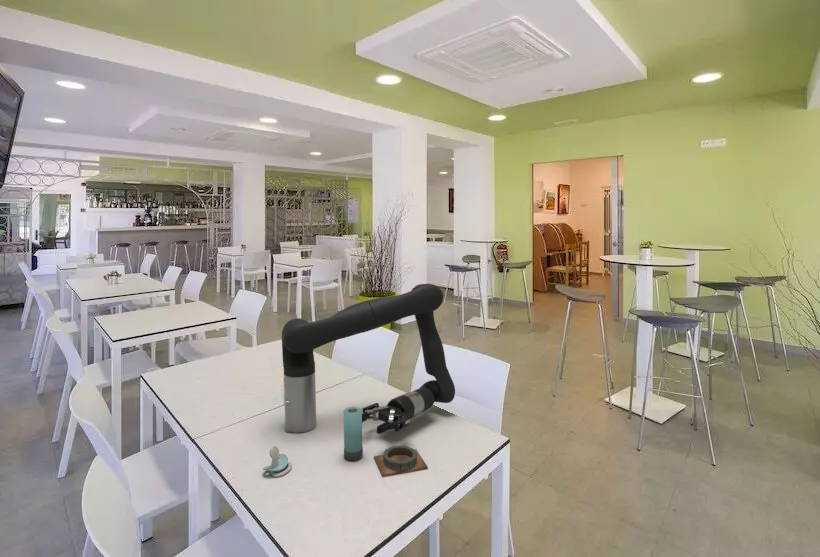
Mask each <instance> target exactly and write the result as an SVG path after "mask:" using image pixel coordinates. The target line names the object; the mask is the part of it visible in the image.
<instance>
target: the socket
mask: <svg viewBox="0 0 820 557" xmlns="http://www.w3.org/2000/svg"><path fill="white" fill-rule="evenodd" d="M373 460H374V462H375V464H376V466H377V469H378V471H379V472H380V475H381V477H382V478H385V477H391V476H395V475H396V476H397V475H402V474H405V473H406V474H407V473H411V472H418V471H423V470H428V469H429V467H428V465H427V463H426V462H425V460H424V459H423V457H422V456H421V454H420V453H419V451H418V450H417V448H412V447H410V446H408V445H401V444H400V445H394V446H389V447H388V448H386V449H385V450H384V452H383V454H379V455H374V456H373Z"/></svg>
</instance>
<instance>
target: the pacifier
mask: <svg viewBox="0 0 820 557" xmlns="http://www.w3.org/2000/svg"><path fill="white" fill-rule="evenodd" d="M269 456H270V459H271V462H270V465H267V466H264V467H262V469H263V471H266V472H270V474H271V475H272V477H275V478H277V477H278V478H279V477H282V476H284V475H286V474H288V473H289V471H291V470H292V467H293V464H292V463H291V462H290V461H289V457H288V456H287V454H284V453H280V449H279V447H278V446H276V445H273V446H272V447H271V448H270V450H269ZM286 467H287V468H286ZM285 468H286V469H285ZM284 469H285V470H284ZM282 470H283V471H282Z"/></svg>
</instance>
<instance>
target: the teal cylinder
mask: <svg viewBox="0 0 820 557" xmlns="http://www.w3.org/2000/svg"><path fill="white" fill-rule="evenodd" d="M343 446H344V447H343V459H344V460H345V461H347V462H352V463H354V462H359V461H360V460H362V459H363V457H364V456H363V454H364V451H363V448H364V447H363V422H362V408H361V407H358V406H350V407H346V408H345V409H343Z"/></svg>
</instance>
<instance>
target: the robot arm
mask: <svg viewBox="0 0 820 557" xmlns="http://www.w3.org/2000/svg"><path fill="white" fill-rule="evenodd" d="M443 302H444V293H443V291H442V289H441V288H440V287H439V286H437V285H435V284H433V283H421V284H419V283H418V284H417V285H415V286H414V287H413V288H412V289H411V290H409V291H408V292H404V293H402V294H397V295H390V296H384V297H377V298H372V299H368V300H364V301H361V302H358V303H355V304H352V305H349V306H347V307H346V308H344V309H342V310H340V311H339V312H337V313H335V314H333V315H332V316H331V315H330V317H326V318H323V319H319V320H314V321H310V322H309V321H307V320H306V319H304V318H301V317H299V318H296V317H295V318H292V319H290V320H288V321H287V322H286V323H285V324H284V326H283V328H282V332H281V348H282V351H281V352H282V366H283V381H284V383H283V384H284V385H283V387H284V388H283V389H284V390H283V391H284V394H283V396H284V399H283V400H284V422H285V424H284V425H285V426H284V427H285V432H286V433H297V434H298V433H306V432H310V431H311V430H313V429H315V428H316V427H317V396H316V395H317V394H316V392H317V391H316V388H317V387H316V360H315V355H314V354H315V353H314V350H316V349H318V348H320V347H322V346H325V345H327V344H330V343H333V342H335V341H337V340H342V339H345V338H349V337H352V336H356V335H359V334H362V333H367V332H369V331H372V330H376V329H378V328H381V327H384V326H387V325H390V324H392V323H395V322H397V321H399V320H402V319H405V318H407V317H413V316H414V317H415V322H416V325H417V329H418V333H419V339H420V343H421V348H422V356H423V363H424V368H425V372H426V374H428V375H430V376H432V377H434V378H435V379H434V380H433V379H432V380H428V381H425V382H424V383H423V384H422V385H421V386H420V387H419V388H417V389H414V390H413V391H408V392H406V393H405V392H404V393H403V394H401V395H399V396H397V397H394V398H392V399H390V400H389V401H388V403H387V404H386V405H385V406H380V404H379V402H375V403H373V404H369V405H367V406H364V407H362V408H361V409H362V423H364V422H366V421H368V420H372V421H375V422H376V421H381V422H383V423H380V424H378V425H377V426H376V433H377V434H378V435H381V434H382V433H385V432H388V431H393V430H394V432H396V433H398V432H400V431H402V430H403V429H405V428H406V427H409V426H410V424H411V423H410V420H412V419H414V418H416V417H418V416H419V415H420V414H422V413H423V412H426V411H428V410H429V409H431V408H432V407H433V406H434V404H435V403H441V404H449V403H451V402H453V400H454V398H455V395H456V387H455V384H454V382H453V379H452V376H451V374H450V371H449V369H448V367H447V362H446V356H445V349H444V345H443V342H442V339H441V337H440V334H439V331H438V328H437V326H436V322H435V316H434V312H435V311H436V310H437V309H439V308H440V307H441V305H442V304H443Z"/></svg>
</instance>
